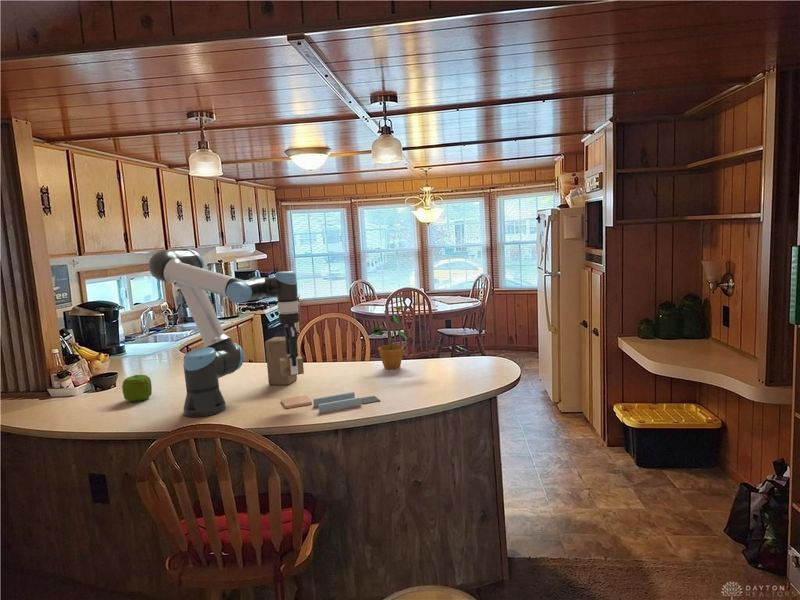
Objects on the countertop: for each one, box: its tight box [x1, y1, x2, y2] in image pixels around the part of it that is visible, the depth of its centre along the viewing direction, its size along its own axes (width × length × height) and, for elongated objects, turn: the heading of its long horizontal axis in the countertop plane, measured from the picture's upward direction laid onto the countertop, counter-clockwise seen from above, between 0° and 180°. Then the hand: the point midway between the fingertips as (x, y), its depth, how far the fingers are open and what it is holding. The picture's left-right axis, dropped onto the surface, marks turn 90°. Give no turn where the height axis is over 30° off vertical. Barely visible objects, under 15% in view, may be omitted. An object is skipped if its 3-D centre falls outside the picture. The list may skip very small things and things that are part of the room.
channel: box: [312, 391, 362, 414], centre depth 199 cm, size 16×9×3 cm, turn 113°
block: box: [280, 355, 305, 377], centre depth 202 cm, size 8×5×6 cm, turn 111°
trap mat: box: [361, 395, 381, 405], centre depth 204 cm, size 7×7×1 cm
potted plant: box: [371, 305, 408, 370], centre depth 250 cm, size 18×19×30 cm
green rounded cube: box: [121, 374, 153, 403], centre depth 221 cm, size 11×11×11 cm
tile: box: [280, 394, 313, 409], centre depth 206 cm, size 10×10×1 cm
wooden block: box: [264, 336, 298, 386], centre depth 236 cm, size 10×10×20 cm
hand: (293, 372), depth 203 cm, fingers closed on block, 5 cm apart
